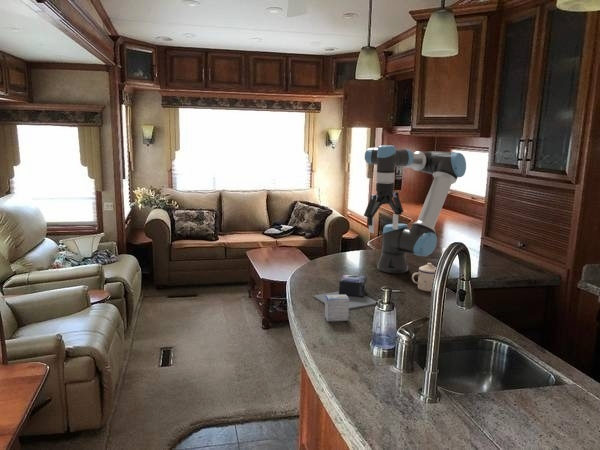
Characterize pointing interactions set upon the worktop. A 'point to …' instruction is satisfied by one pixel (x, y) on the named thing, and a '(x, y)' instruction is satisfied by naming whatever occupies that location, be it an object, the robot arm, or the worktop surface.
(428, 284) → the teacup with lid
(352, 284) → the small box
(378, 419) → the worktop surface
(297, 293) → the worktop surface
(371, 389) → the worktop surface
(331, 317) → the medicine box
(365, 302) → the slate mat
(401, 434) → the worktop surface
